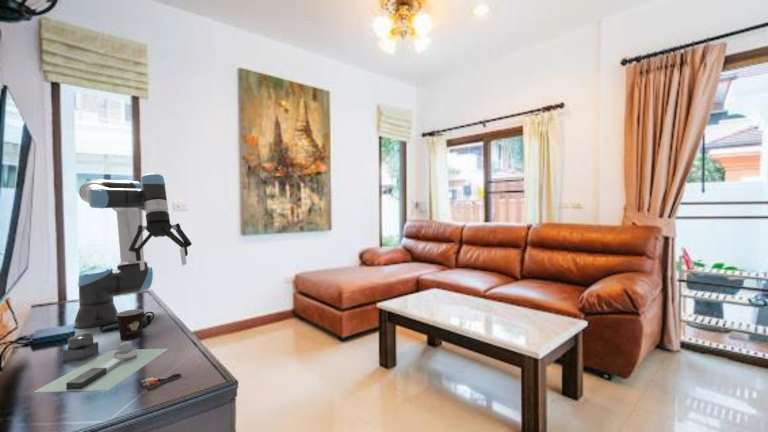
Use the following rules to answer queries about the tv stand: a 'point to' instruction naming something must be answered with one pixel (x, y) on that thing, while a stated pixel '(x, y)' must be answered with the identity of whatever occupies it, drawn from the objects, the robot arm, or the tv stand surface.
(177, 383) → the tv stand surface
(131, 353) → the ratchet
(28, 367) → the tv stand surface
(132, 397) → the tv stand surface
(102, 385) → the tool mat
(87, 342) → the dark grey door knob
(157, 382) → the composite cable
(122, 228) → the robot arm
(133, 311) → the coffee mug
